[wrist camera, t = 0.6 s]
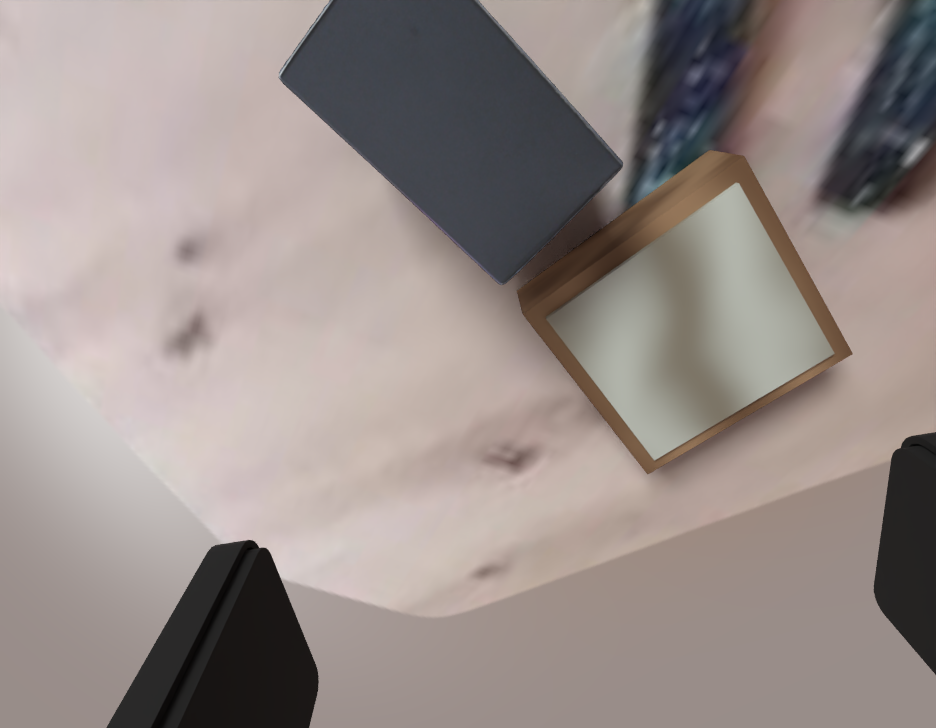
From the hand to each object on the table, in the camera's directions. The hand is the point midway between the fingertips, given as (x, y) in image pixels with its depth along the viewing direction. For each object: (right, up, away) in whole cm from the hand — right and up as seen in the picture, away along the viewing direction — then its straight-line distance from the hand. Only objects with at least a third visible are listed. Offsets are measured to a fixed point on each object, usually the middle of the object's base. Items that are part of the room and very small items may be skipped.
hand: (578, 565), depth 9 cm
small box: (-2, +15, +20) cm, 25 cm away
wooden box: (+9, +6, +24) cm, 26 cm away
